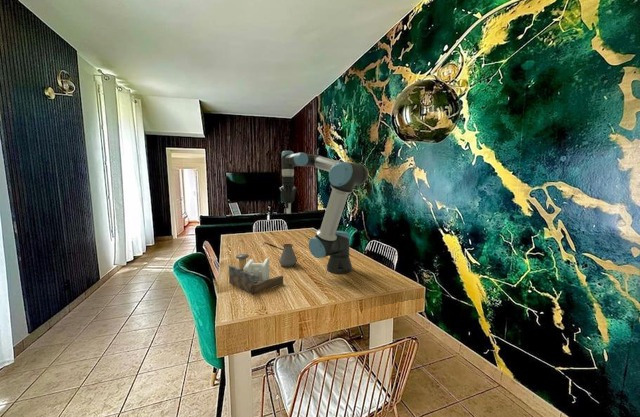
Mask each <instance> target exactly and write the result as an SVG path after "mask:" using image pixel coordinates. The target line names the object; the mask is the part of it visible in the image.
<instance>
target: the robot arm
mask: <svg viewBox="0 0 640 417" xmlns="http://www.w3.org/2000/svg"><path fill="white" fill-rule="evenodd" d="M295 167H309V168H310V167H312V168H315V169H317V170H318V169H319V170H322V171H326V172H328V178H329V179H328V180H329V182H330V188H331V193H330V196H329V199H328V203H327V206H326V209H325V213H324V216H323V219H322V222H321V225H320V228H318V229H317V230H316V232H315V235H314V236H313V237H311V238H310V239H309V241H308V249H309V252H310V253H311V255H312V256H313V257H314V258H316V259H322V258H326V257H328V260H327V265H326V270H327V271H328V272H329V273H333V274H348V273H351V272H352V271H353V265H352V261H351V258H350V239H351V238H350V234H349V233H348V231H341V230H338V227H339V223H340V220H341V218H342V214H343V212H344V208H345V206H346V204H347V203H346V202H347V200H348V197H349V195H350V194H352V193H353V191H354V189H355V188H354V187H356V186H357V187H359V186H361V185H364V183H366V181H367V180H368V178H369V170H368V168H367V167H366V166H365V165H364V164H362V163H357V162H350V161H349V162H348V161H340V160H335V159H333V158H330V157H329V158H328V157H325V156H322V155H319V154H311V153H305V152H296V153H294V151H292V150H283V151H282V152H281V176H282V177H281V182H282V186H281V187H278V189H279V191H280V194H281V199H282V203H284V205H285V207H284V208H285V210H286V214H289V215H291V214H292V204H293V203H294V202H295V198H296V192H297V189H298V188H297V187H296V186H295V184H294V183H295V177H294V175H295Z"/></svg>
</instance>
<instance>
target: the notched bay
mask: <svg viewBox="0 0 640 417" xmlns="http://www.w3.org/2000/svg"><path fill="white" fill-rule="evenodd" d="M228 279H229V283H230V284H231V285H233V286H235V287H237V288H240V289H241V290H243V291H245V292H247V293H249V294H251V295H255V294H258V293H261V292H263V291H266V290H270V289H272V288H276V287H279V286H281V285H283V284H284V276H283V275H282V274H281V275H278V276H275V277H273V278H269V280H265V281H262V282H259V281H258V282H257V283H256V281H255V275H254V274H252V273H249V272H247V271H242V272H241V271H240V268H239V266H238V267H237V266H235V265H232V264H231V265H228Z"/></svg>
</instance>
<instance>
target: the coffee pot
mask: <svg viewBox="0 0 640 417" xmlns="http://www.w3.org/2000/svg"><path fill="white" fill-rule="evenodd" d="M264 244H265V245H268V246H270V247H273V248H276V249H278V250H281V252H282V253H281V254H280V257H279V260H278V261H279V262H278V263H279V264H280V265H281V266H282V265H283V267H286V268H287V267H293V265H294V266H295V265H296V264H297V262H298V259H297V256H296V254H295V251H294V250H293V246H294V244H293V243H285V244H283V245H282V246H283V247H279V246H276V245H275V244H272V243H268V242H266V241H263V244H262V245H263V246H264Z"/></svg>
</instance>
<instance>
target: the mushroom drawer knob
mask: <svg viewBox="0 0 640 417" xmlns="http://www.w3.org/2000/svg"><path fill="white" fill-rule="evenodd" d="M248 258H249V253H248V254H247V253H243V254H242V253H239V254H237V255H235V259H237V260H238V268H240V271H241V272H242V271H243V268H244V266H245V265H246V264H247V259H248Z"/></svg>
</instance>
